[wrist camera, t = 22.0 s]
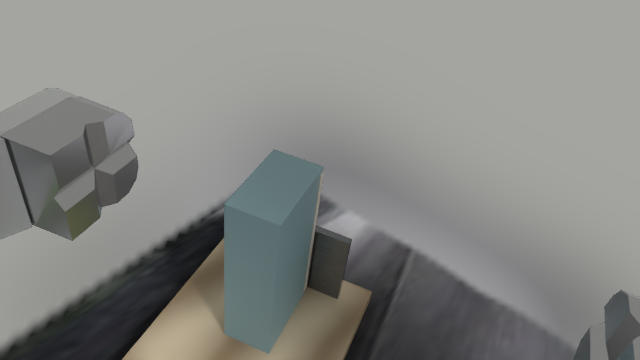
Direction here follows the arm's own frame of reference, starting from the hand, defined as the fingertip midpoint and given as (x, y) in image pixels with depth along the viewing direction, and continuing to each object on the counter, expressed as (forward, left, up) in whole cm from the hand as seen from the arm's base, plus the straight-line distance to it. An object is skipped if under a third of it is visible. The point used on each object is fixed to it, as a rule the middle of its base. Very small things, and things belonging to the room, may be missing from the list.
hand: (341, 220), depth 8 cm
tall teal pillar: (+9, -19, -30) cm, 37 cm away
